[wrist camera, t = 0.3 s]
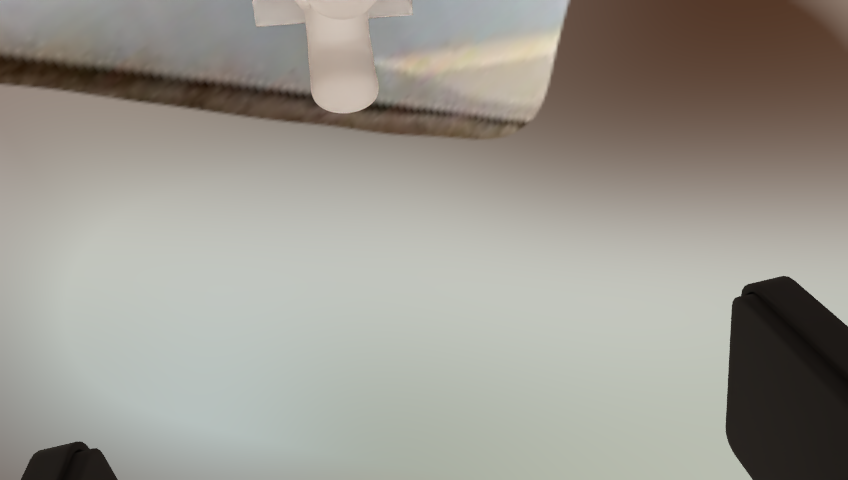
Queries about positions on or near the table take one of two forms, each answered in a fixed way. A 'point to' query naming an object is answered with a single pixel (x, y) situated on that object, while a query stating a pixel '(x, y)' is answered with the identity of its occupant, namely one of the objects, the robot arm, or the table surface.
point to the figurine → (335, 45)
